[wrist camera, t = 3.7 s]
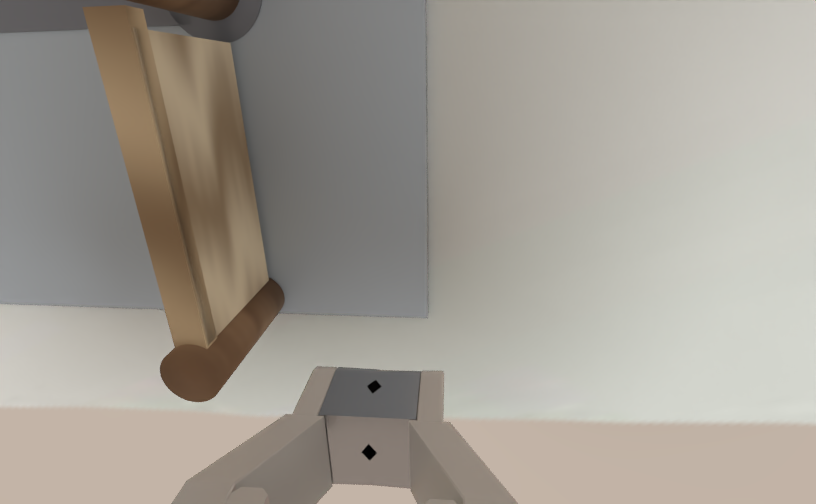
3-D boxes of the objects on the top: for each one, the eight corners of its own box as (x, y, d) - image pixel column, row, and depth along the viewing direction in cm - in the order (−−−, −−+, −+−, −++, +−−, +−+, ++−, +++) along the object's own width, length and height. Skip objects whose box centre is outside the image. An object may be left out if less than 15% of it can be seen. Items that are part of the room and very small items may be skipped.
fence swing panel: (190, 30, 16) (51, 5, 11) (244, 28, 16) (131, 1, 11) (244, 314, 21) (168, 400, 16) (287, 316, 21) (225, 403, 15)
